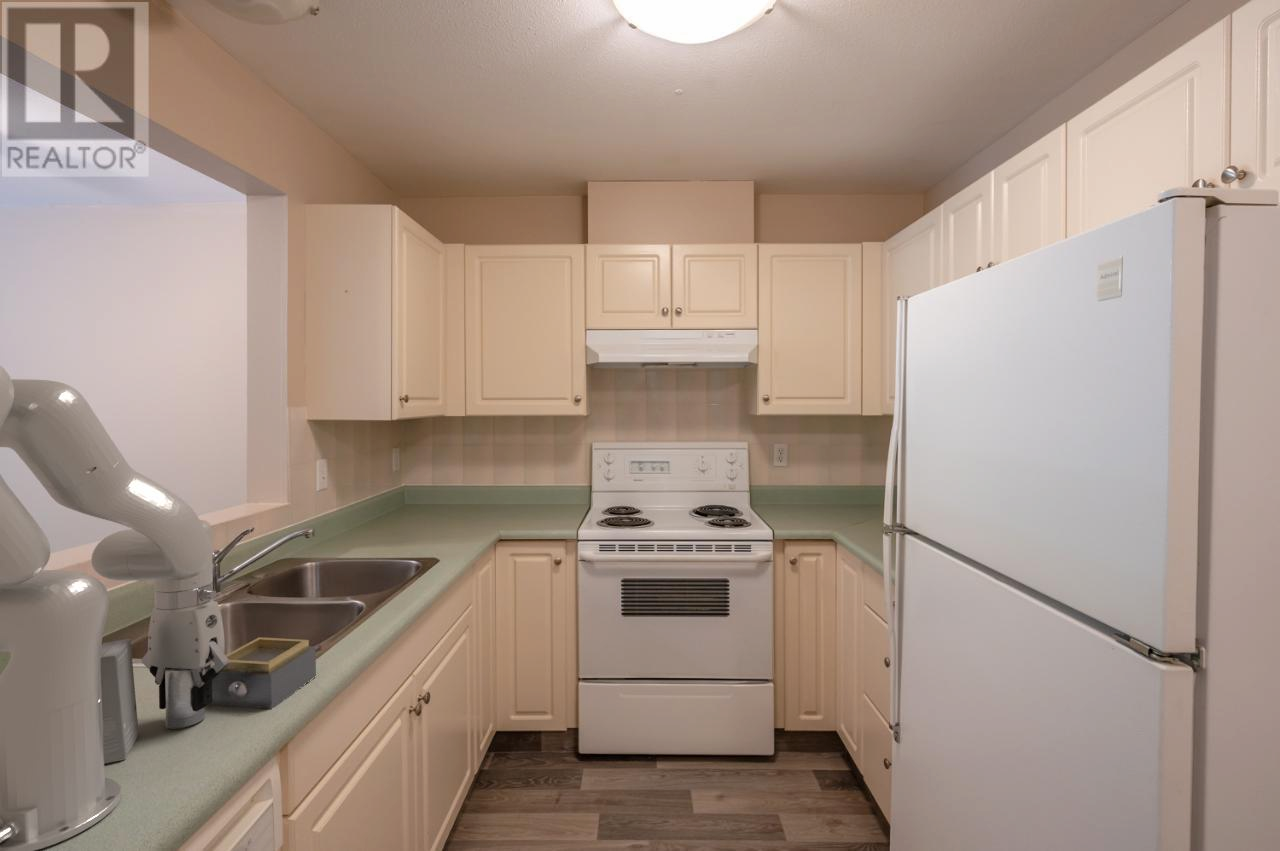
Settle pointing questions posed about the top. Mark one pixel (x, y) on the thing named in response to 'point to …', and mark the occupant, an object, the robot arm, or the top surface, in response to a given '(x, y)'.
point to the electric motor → (180, 698)
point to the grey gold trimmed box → (264, 673)
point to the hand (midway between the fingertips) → (186, 704)
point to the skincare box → (118, 700)
